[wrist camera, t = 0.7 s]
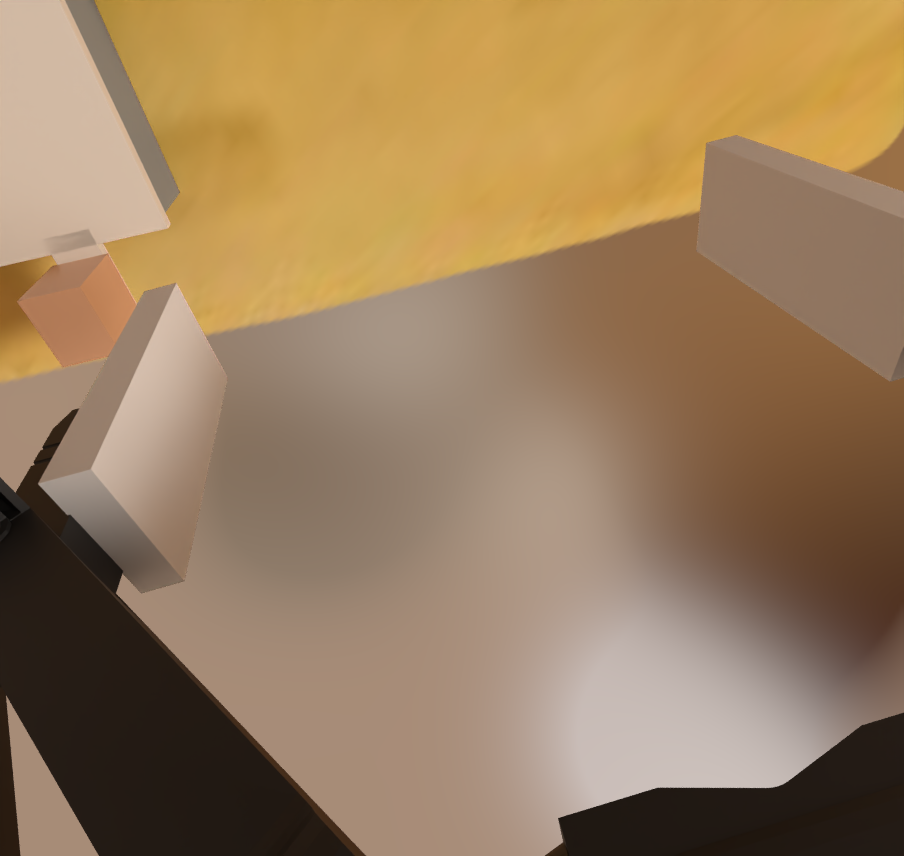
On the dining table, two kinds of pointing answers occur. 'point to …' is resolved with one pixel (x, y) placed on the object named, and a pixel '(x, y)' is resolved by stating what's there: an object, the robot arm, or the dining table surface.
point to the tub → (124, 98)
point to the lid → (66, 181)
